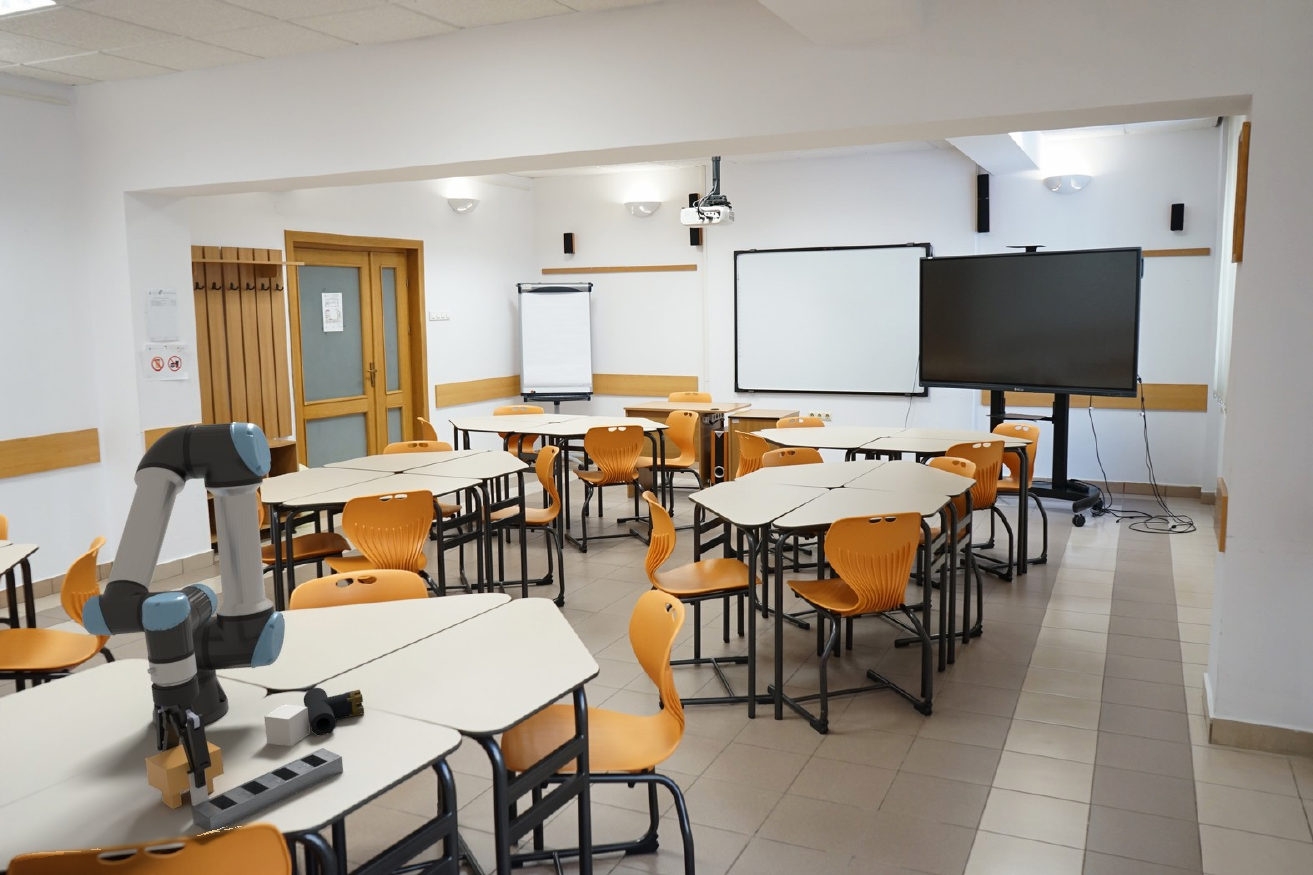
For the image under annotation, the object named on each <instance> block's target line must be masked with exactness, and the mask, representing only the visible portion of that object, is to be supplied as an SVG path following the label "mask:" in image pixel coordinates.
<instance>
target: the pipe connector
mask: <svg viewBox="0 0 1313 875" xmlns="http://www.w3.org/2000/svg"><path fill="white" fill-rule="evenodd" d="M361 692H362V691H361V690H360V689H356V690H350V691H346V692H344V693H340V694H336V695H331V696H328V693H327V692H326V691H325V689H324V688H320V687H314V688H309V689H308V691H306V693H305V694H304V695H303V704H304V707H307V708H308V718H309V728H310V730H311V732H312V733H313V734H314V735H316V736H317V735H320V736H323V735H327V734H331V733H332V732H333V731H334V729H335V728H336V725H337V724H336V723H337V722H336V720H339V719H343V718H347V717H348V718H349V717H355V716H359V715H363V714H365V707H364V705H363V703H364V698H363V695H362V693H361Z"/></svg>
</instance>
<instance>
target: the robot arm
mask: <svg viewBox="0 0 1313 875" xmlns="http://www.w3.org/2000/svg"><path fill="white" fill-rule="evenodd" d="M271 462H272V458H271V451H270V446H269V442H268V440H267V437H266V434H265V433H264V431H263V430H262V429H261V427H259V425H256V424H255V423H252V422H228V423H227V422H225V423H212V424H195V425H194V424H186V425H181V426H178V427H175V428H173V429H171V430H169V431H167V432H166V433H165V434H163V435H162V436H161V437H159V438H158V439H157V440H156V441H154V442H153V443H152V445H151V446H150V447H149V448H148V449H147V450H146V452H145V453H144V455H142V458H141V460H140V461H139V463H138V466H137V468H136V470H135V474H134V478H133V480H134V483H135V485H136V489H135V491H134V492H135V493H134V496H133V499H132V502H131V505H130V508H129V509H130V510H129V512H128V515H127V518H126V521H125V526H124V528H123V531H122V533H121V534H122V535H121V537H120V541H119V545H118V547H117V550H116V553H115V558H114V560H113V564H112V567H111V570H110V574H109V576H108V580H107V583H106V586H105V589H104V591H103V593H102V594H97V595H92V596H90V597H88V599H87V601H85V602H84V604H83V607H82V609H81V610H82V612H81V620H82V625H83V628H84V629H85V631H87V633H89V635H93V636H116V635H127V634H139V633H144V637H145V638H144V639H145V644H146V652H147V659H148V666H149V668H148V669H147V674H149V676H150V681H151V682H152V684H151V693H152V695H151V696H152V702H153V709H152V722H153V725H155V726H154V727H155V729H156V745H157V746H156V748H157V751H158V752H161V751H162V752H164V751H166V750H169V749H171V748H174V747H176V746H179V745H180V742H181V743H182V744H183V748H184V751H185V754H186V757H187V760H188V764H189V767H190V770H189V771H187V774H188V776H189V785H190V788H189V791H190V800H191V805H192V807H193V806H195V805H197V804H199V803H202V802H204V801H206V800H208V799H209V793H208V791H207V782H206V774H205V769H206V768H208V767H211V760H210V755H209V750H208V745H207V742H208V740H207V736H206V732H205V725H207V724H210V723H212V722H214V721H217V720H219V719H220V718H221V717H223V716H224V715H225V714H227V712H228V711H229V708H230V707H229V699H228V696H227V694H226V692H225V690H224V688H223V687H222V685H221V683H220V681H219V679H218V677H217V671H220V670H221V671H222V670H232V669H247V668H248V669H249V668H251V669H255V668H259V667H266V666H267V667H268V666H270V665H273V664H274V663H275V662H276V661H277V659H278V658H279V656H280V653H281V651H282V649H283V644H284V640H285V629H286V624H285V623H286V622H285V618H284V614H283V613H282V612H279V611H275V610H274V609H275V608H274V602H273V601H272V600H271V599H269V598H267V596H266V592H265V591H266V588H265V579H264V578H265V577H264V567H263V554H262V545H261V533H260V531H261V530H260V521H259V520H260V519H259V508H258V498H257V497H258V496H257V490H258V489H259V488H260V486H261V485H263V483H264V482H263V481H264V480H263V478H264V476H266V475H268V474H269V472H270V470H271ZM194 479H196V480H198V479H199V480H200V479H203V480H204V481H203V482H204V489H205V490H206V491H208V492H209V493H211V494H212V495H213V506H214V516H215V517H214V518H215V529H216V539H217V540H216V541H217V550H218V562H219V571H220V584H221V594H222V603H221V604H220V606H219V607H218V603H219V602H218V597H217V594H216V593H215V592H214V590H213V589H212V588H211V587H209V586H208V585H205V584H203V583H202V584H201V583H192V584H190V585H187V586H185V587H183V588H182V589H181V590H166V591H150V589H151V585H152V582H153V579H154V575H155V571H156V568H157V565H158V561H159V557H160V554H161V550H162V547H163V545H164V544H163V543H164V540H165V537H166V533H167V531H168V530H167V529H168V527H169V523H170V520H171V516H172V513H173V512H172V511H173V509H174V507H175V506H174V505H175V502H176V497H177V495H179V494H180V493H181V492H183V491H184V489H185V485H186V482H188V481H189V480H194ZM217 607H218V608H217ZM215 613H216V615H215V616H213V615H214V614H215Z"/></svg>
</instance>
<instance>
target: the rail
mask: <svg viewBox="0 0 1313 875" xmlns="http://www.w3.org/2000/svg"><path fill="white" fill-rule="evenodd" d="M343 767H344V766H343V756H342V755H340V754H336V753H334V752H332V751H330V750H328V749H326V748H324V747H322V748H320V749H318V750H315V751H313V752H311V753H309V754H306V755H304V756H302V757H299V758H298V759H295V760H293V761H291V762H289V763H287V764H284V765H282V766H280V767H277V768H276V769H273V770H271V771H268V772H266V773H265V774H262V775H259V776H257V777H255V778H253V779H250V780H249V781H246V782H244V783H242V784H240V785H237V786H235V787H233V788H230V789H229V790H226V791H224V792H221V793H220V794H217V795H216V796H213V797H211V798H208V800H206V801H204V802H202V803H199V804H197V805H195V806H193V805H192V806H191V814H192V823H193V824H195V825H196V826H197V827H199V828H201V829H202V830H204V831H205V832H207V831H212V830H217V829H220V828H222V827H226V826H228V827H230V826H232V825H234V824H237V823H238V822H240V821H242V820H245V819H246V818H249V817H251V816H253V815H255V814H257V813H259V812H262V811H263V810H266V809H268V808H269V807H272V806H274V805H276V804H278V803H280V802H282V801H285V800H286V799H289V798H290V797H292V796H295V795H296V794H299V793H301V792H303V791H305V790H307V789H309V788H312V787H314V786H315V785H318V784H320V783H322V782H324V781H326V780H328V779H330V778H331V777H335V776H336V775H338V774H340V772H341V773H342V771H343V772H344V768H343ZM323 780H324V781H323ZM313 785H314V786H313ZM226 828H227V827H226Z"/></svg>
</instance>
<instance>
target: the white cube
mask: <svg viewBox="0 0 1313 875" xmlns="http://www.w3.org/2000/svg"><path fill="white" fill-rule="evenodd" d="M263 717H264V726H265V728H264V729H265V736H266V744H268V745H269V744H271V745H279V746H284V745H285V746H286V747H292V746H294V745H295V744H297V743H298V742H300V741H301V740H303V739H304V738H305V737H307V736H308V735H310V734H311V731H310V730H311V728H310V723H309V718H308V708H307V707H305V706H303V705H302V706H301V705H294V704H285V703H284V704H282V705H280V706H279V707H277V708H275V709H274V710H272V711H271V712H269V713H267V714H266V715H264V716H263ZM306 735H307V736H306ZM299 740H300V741H299ZM285 746H284V747H285Z"/></svg>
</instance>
